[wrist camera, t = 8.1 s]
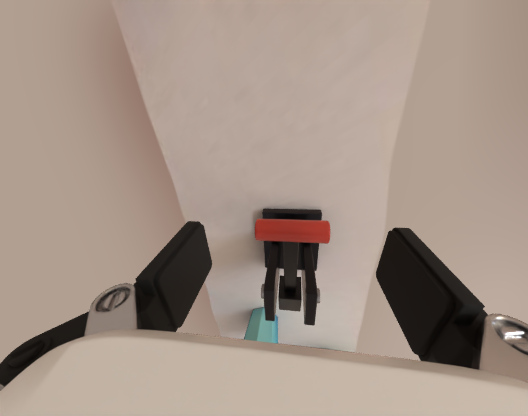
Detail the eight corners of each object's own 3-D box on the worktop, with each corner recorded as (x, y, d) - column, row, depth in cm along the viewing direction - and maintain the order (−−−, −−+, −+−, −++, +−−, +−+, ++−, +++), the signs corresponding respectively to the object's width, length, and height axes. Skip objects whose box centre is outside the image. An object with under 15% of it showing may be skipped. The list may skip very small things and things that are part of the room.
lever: (257, 210, 14) (252, 235, 12) (327, 211, 14) (332, 238, 12) (268, 286, 22) (266, 308, 21) (312, 290, 22) (313, 312, 20)
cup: (239, 286, 35) (206, 392, 22) (281, 288, 34) (273, 401, 21) (249, 333, 41) (227, 438, 28) (285, 336, 40) (281, 448, 27)
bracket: (263, 208, 27) (245, 266, 17) (320, 209, 26) (339, 272, 16) (266, 262, 32) (252, 335, 21) (315, 265, 31) (327, 344, 20)
